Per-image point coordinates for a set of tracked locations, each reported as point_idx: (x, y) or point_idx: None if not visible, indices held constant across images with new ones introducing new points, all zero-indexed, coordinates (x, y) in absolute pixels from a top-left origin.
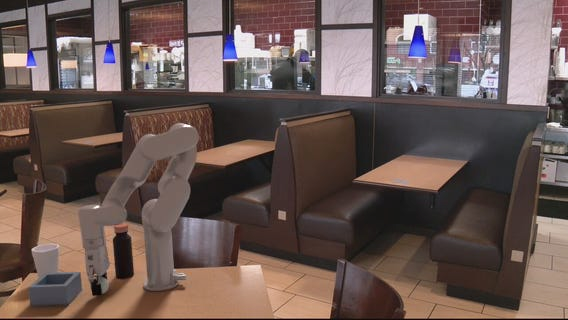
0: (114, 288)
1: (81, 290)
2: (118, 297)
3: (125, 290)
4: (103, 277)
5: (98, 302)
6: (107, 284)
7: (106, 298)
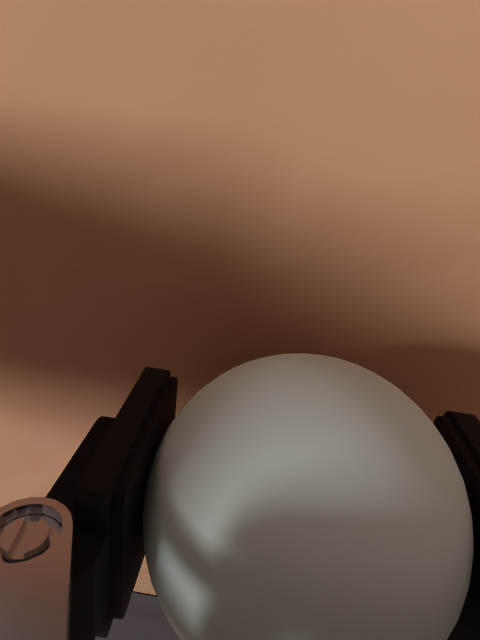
0: (57, 274)
1: None
2: (396, 164)
3: (145, 95)
4: (262, 569)
5: (475, 402)
6: (366, 397)
7: (376, 327)
